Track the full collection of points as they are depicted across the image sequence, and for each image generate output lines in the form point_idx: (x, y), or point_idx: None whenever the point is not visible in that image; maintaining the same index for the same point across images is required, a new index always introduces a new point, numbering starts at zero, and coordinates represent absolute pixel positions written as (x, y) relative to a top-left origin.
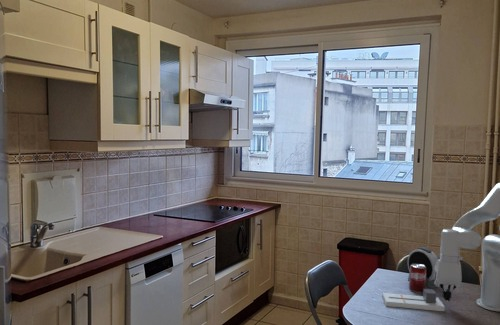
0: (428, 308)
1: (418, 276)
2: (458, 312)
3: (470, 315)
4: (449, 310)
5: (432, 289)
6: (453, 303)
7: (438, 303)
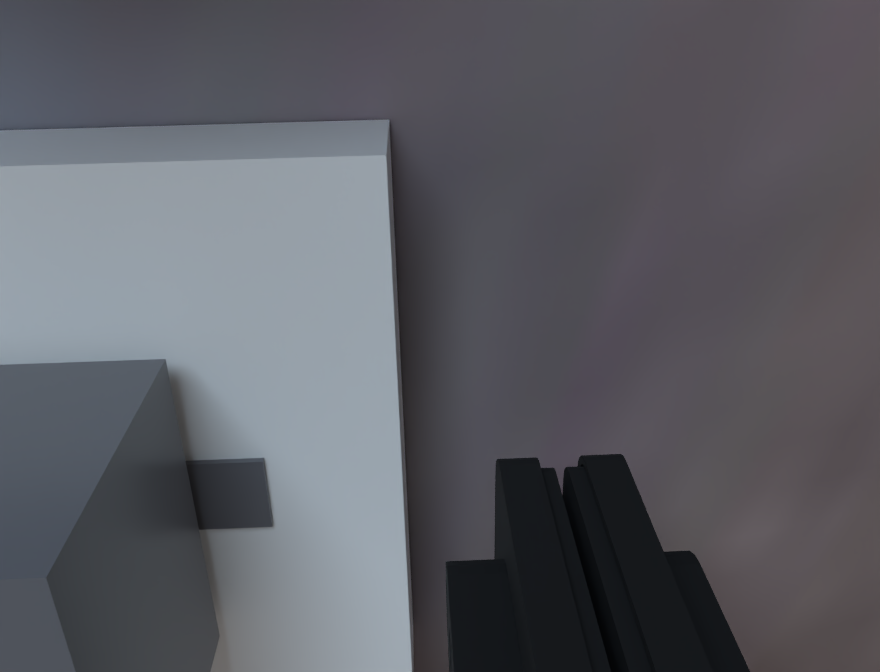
0: None
1: None
2: None
3: (873, 665)
4: None
5: (16, 575)
6: (840, 102)
7: (302, 584)
